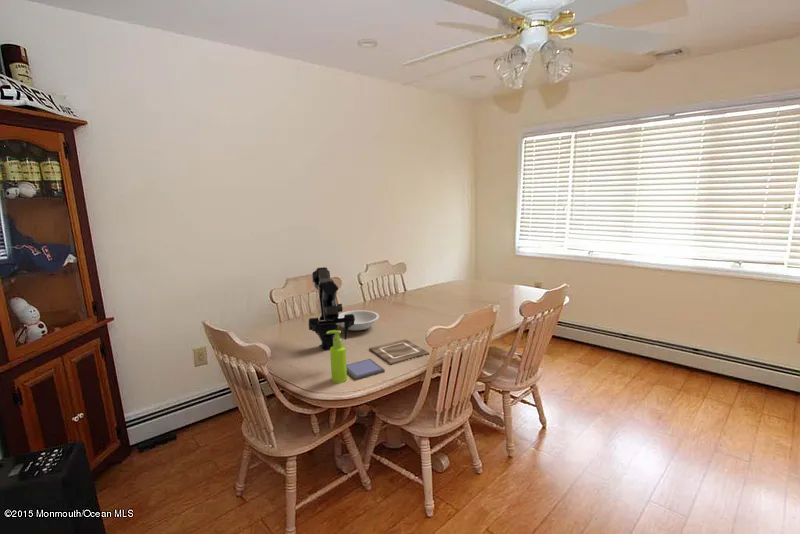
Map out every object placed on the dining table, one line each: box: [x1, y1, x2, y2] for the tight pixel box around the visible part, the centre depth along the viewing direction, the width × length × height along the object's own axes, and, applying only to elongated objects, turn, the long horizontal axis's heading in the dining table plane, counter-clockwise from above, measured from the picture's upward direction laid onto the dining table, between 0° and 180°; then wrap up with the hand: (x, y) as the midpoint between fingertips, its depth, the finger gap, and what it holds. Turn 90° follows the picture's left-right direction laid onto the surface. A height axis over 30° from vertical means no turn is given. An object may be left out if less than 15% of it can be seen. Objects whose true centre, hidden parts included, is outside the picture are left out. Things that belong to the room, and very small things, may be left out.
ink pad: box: [346, 358, 386, 381], centre depth 163 cm, size 13×13×1 cm
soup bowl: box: [338, 309, 380, 331], centre depth 213 cm, size 24×24×7 cm
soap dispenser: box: [327, 329, 348, 384], centre depth 154 cm, size 6×7×20 cm
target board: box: [368, 338, 430, 365], centre depth 181 cm, size 20×20×1 cm
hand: (334, 340), depth 160 cm, fingers open, 9 cm apart
